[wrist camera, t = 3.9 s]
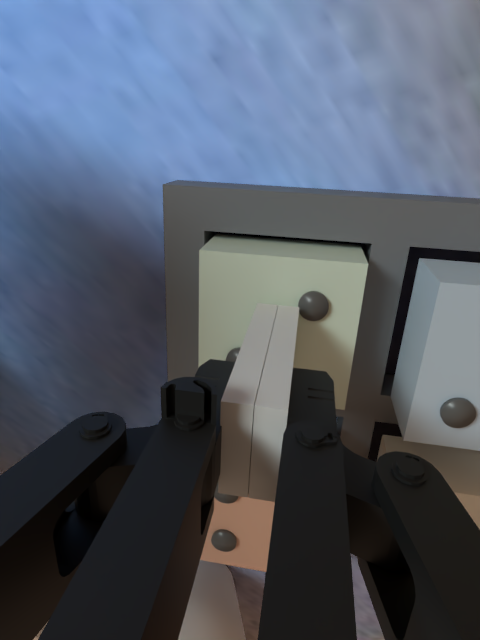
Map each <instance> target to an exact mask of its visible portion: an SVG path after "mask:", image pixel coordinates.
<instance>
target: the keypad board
mask: <svg viewBox="0 0 480 640" xmlns="http://www.w3.org/2000/svg"><path fill="white" fill-rule="evenodd" d="M163 212H164V251H165V291H166V330H167V370H168V382H169V381H171V380H173V379H176V378H181V377H195V374H196V372H197V370H198V362H199V250H200V249H201V248H202V247H203V246H204V245H205V244H206V243H207V242H208V241H210V240H211V239H212V238H213V237H214V236H215V232H228V233H241V234H254V235H267V236H280V237H293V238H306V239H319V240H332V241H345V242H358V243H365V246H364V255H365V257H366V260H367V262H368V270H367V276H366V282H365V288H364V294H363V300H362V306H361V312H360V318H359V325H358V331H357V337H356V343H355V349H354V355H353V361H352V367H351V374H350V380H349V386H348V392H347V398H346V404H345V410H341V409H336V416H338V418H337V433H338V434H339V435H340V438H341V441H342V444H343V445H344V446H345V447H347V448H348V449H349V450H351V451H352V452H354V453H355V454H357V455H360V456H362V457H364V458H367V459H368V455H369V449H370V444H371V439H372V434H373V429H374V424H375V421H377V422H385V423H392V424H398V421H397V417H396V414H395V410H394V407H393V403H392V400H391V391H392V386H393V381H394V376H395V375H391V374H385V369H386V364H387V359H388V354H389V349H390V344H391V339H392V334H393V329H394V324H395V319H396V314H397V309H398V304H399V299H400V293H401V288H402V283H403V278H404V273H405V268H406V263H407V258H408V253H409V248H410V247H423V248H436V249H449V250H462V251H475V252H480V199H477V198H461V197H444V196H428V195H412V194H395V193H379V192H363V191H346V190H330V189H314V188H297V187H281V186H265V185H248V184H232V183H216V182H199V181H183V180H177V181H173V182H169V183H166V184H163Z"/></svg>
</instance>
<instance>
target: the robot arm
mask: <svg viewBox="0 0 480 640" xmlns="http://www.w3.org/2000/svg"><path fill="white" fill-rule="evenodd" d="M298 316H299V307H293V306H283V305H273V304H263V303H257V306H256V308H255V311H254V314H253V316H252V319H251V322H250V324H249V327H248V330H247V332H246V335H245V338H244V340H243V343H242V346H241V348H240V351H239V354H238V356H237V359H236V362H231V361H223V360H215V359H210V360H208V361H207V362H205V363H204V364H202V365H201V366H199V368H198V370H197V372H196V374H195V377H181V378H176V379H173V380H171V381H169V382H166V383H165V384H164V385H163V386H162V387H161V410H162V418H161V420H160V422H159V423H158V425H154V426H150V427H143V428H130V429H126V423H125V421H124V420H123V418H122V417H120V416H118V415H116V414H114V413H108V412H96V413H90V414H87V415H84V416H81V417H79V418H78V419H76V420H74V421H72V422H71V423H70V424H68V425H67V426H66V427H64V428H63V429H62V430H61V431H59V432H58V433H57V434H55V435H54V436H53V437H51V438H50V439H49V440H47V441H46V442H45V443H43V444H42V445H41V446H39V447H38V448H37V449H35V450H34V451H33V452H31V453H30V454H29V455H27V456H26V457H25V458H23V459H22V460H21V461H19V462H18V463H17V464H15V465H14V466H13V467H11V468H10V469H9V470H7V471H6V472H5V473H3V474H2V475H1V476H0V640H33V639H34V637H35V636H36V635H37V634H38V633H39V631H40V630H41V629H42V628H43V626H44V625H45V624H46V623H47V622H48V623H47V625H46V626H45V628H44V630H43V632H42V634H41V635H40V637H39V639H38V640H178V638H179V634H180V631H181V627H182V623H183V620H184V616H185V613H186V609H187V605H188V602H189V598H190V594H191V591H192V587H193V584H194V580H195V576H196V573H197V569H198V565H199V562H200V558H201V555H202V551H203V547H204V544H205V540H206V537H207V533H208V529H209V526H210V522H211V518H212V515H213V511H214V493H215V490H216V486H217V483H218V493H222V494H228V495H234V496H240V497H247V498H253V499H259V500H265V501H272V502H275V505H274V513H273V521H272V529H271V538H270V546H269V554H268V562H267V570H266V578H265V586H264V594H263V602H262V610H261V618H260V626H259V634H258V640H357V636H356V622H355V609H354V595H353V582H352V568H351V555H350V553H351V554H353V555H356V556H357V558H358V564H359V567H360V570H361V573H362V576H363V578H364V581H365V584H366V587H367V590H368V593H369V595H370V598H371V601H372V604H373V607H374V610H375V612H376V615H377V618H378V621H379V624H380V626H381V629H382V632H383V635H384V638H385V640H480V529H479V528H478V526H477V525H476V524H475V522H474V521H473V519H472V518H471V516H470V515H469V514H468V512H467V511H466V509H465V508H464V506H463V505H462V503H461V502H460V501H459V499H458V498H457V496H456V495H455V493H454V492H453V490H452V489H451V488H450V486H449V485H448V483H447V482H446V480H445V479H444V477H443V476H442V475H441V473H440V472H439V471H438V470H437V469H436V468H435V467H434V466H433V465H432V464H431V463H430V462H428V461H426V460H425V459H423V458H421V457H419V456H416V455H414V454H411V453H407V452H399V451H394V452H388V453H385V454H383V455H382V456H380V457H379V458H378V460H377V462H375V461H372V460H369V459H367V458H364V457H362V456H360V455H357V454H355V453H354V452H352V451H351V450H349V449H348V448H347V447H345V446H344V445H343V444H342V441H341V438H340V435H339V434H338V433H337V423H336V408H335V393H334V381H333V380H332V378H331V377H330V376H329V374H328V373H327V372H326V371H318V370H310V369H301V368H293V365H294V355H295V345H296V336H297V326H298ZM248 493H249V495H248ZM48 620H49V621H48Z"/></svg>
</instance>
